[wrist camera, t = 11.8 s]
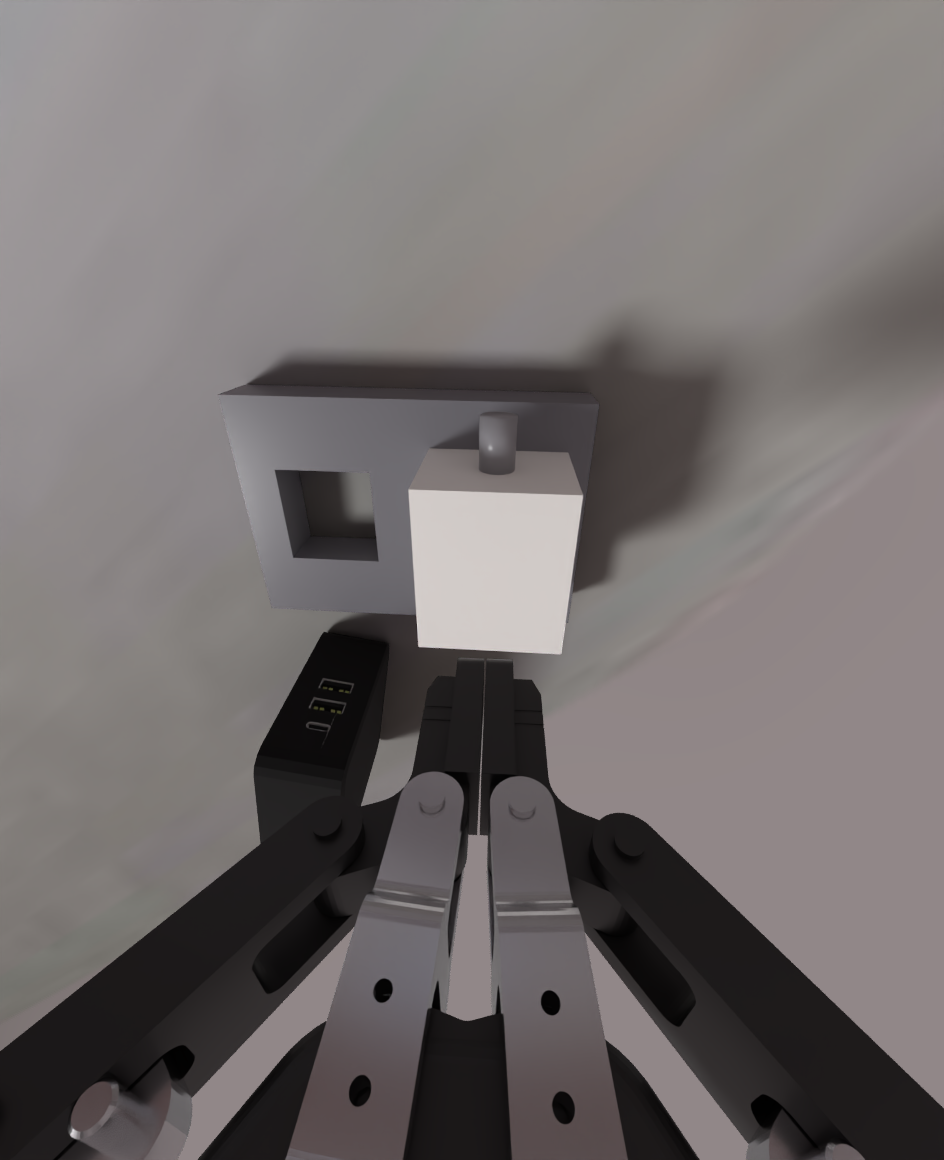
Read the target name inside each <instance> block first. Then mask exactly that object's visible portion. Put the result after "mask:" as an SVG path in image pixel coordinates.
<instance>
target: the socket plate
mask: <svg viewBox="0 0 944 1160" xmlns="http://www.w3.org/2000/svg"><path fill="white" fill-rule="evenodd" d="M218 398H219V402H220V406H221V410H222V414H223V418H224V422H225V426H226V430H227V434H228V437H229V441H230V445H231V449H232V453H233V457H234V461H235V465H236V469H237V473H238V477H239V481H240V485H241V489H242V493H243V497H244V501H245V505H246V508H247V512H248V516H249V520H250V524H251V528H252V532H253V536H254V540H255V544H256V548H257V552H258V556H259V560H260V564H261V568H262V572H263V576H264V579H265V583H266V587H267V591H268V595H269V599H270V603H271V607H272V608H282V609H302V610H322V611H342V612H362V613H382V614H403V615H416V602H415V586H414V570H413V555H412V539H411V523H410V508H409V492H408V489H409V487H410V485H411V483H412V481H413V479H414V477H415V475H416V474H417V472H418V470H419V468H420V466H421V464H422V462H423V460H424V458H425V456H426V454H427V452H428V450H429V448H435V449H469V450H479V422H480V414H482V413H485V412H509V413H514V414H516V415H518V423H517V440H516V451H538V452H568V453H569V456H570V459H571V462H572V465H573V468H574V471H575V473H576V476H577V479H578V482H579V485H580V488H581V491H582V493H583V500H582V508H581V515H580V522H579V529H578V537H577V544H576V551H575V558H574V566H573V573H572V580H571V587H570V594H569V602H568V609H567V616H566V623H568V620H569V613H570V606H571V599H572V592H573V585H574V578H575V571H576V564H577V557H578V550H579V543H580V537H581V530H582V523H583V516H584V509H585V502H586V495H587V488H588V481H589V474H590V467H591V460H592V453H593V446H594V439H595V432H596V425H597V418H598V411H599V403H598V402H597V400H596V399H595V398H594V397H593V395H592V394H591V393H575V392H533V391H492V390H450V389H409V388H367V387H326V386H285V385H243V386H240V387H237V388H235V389H232V390H229V391H226V392H224V393H221V394H218ZM299 470H302V471H332V472H361V473H370V482H371V492H372V501H373V511H374V521H375V530H376V539H370V538H345V537H321V536H311V535H310V529H309V524H308V518H307V513H306V507H305V502H304V497H303V491H302V486H301V480H300V475H299Z"/></svg>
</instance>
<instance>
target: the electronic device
mask: <svg viewBox="0 0 944 1160" xmlns="http://www.w3.org/2000/svg"><path fill="white" fill-rule="evenodd" d="M388 658H389V644H387V643H381V642H376V641H370V640H365V639H359V638H354V637H349V636H343V635H338V634H332V633H327V632H324V633H323V634H322V635H321V637H320V639H319V641H318V642H317V644H316V646H315V648H314V650H313V652H312V653H311V655H310V657H309V659H308V661H307V663H306V664H305V666H304V668H303V670H302V672H301V674H300V675H299V677H298V679H297V681H296V683H295V685H294V686H293V688H292V690H291V692H290V694H289V696H288V697H287V699H286V701H285V703H284V705H283V707H282V708H281V710H280V712H279V714H278V716H277V717H276V719H275V721H274V723H273V725H272V727H271V728H270V730H269V732H268V734H267V736H266V738H265V739H264V741H263V743H262V745H261V747H260V750H259V752H258V754H257V758H256V761H255V765H254V784H255V793H256V803H257V813H258V822H259V832H260V842H261V843H263V842H264V841H265V840H266V839H268V838H269V837H270V836H271V835H273V834H274V833H275V832H276V831H278V830H279V829H280V828H281V827H283V826H284V825H285V824H286V823H288V822H289V821H290V820H291V819H293V818H294V817H295V816H296V815H298V814H299V813H300V812H302V811H303V810H304V809H305V808H307V807H308V806H309V805H311V804H312V803H313V802H315V801H317V800H319V799H322V798H324V797H329V796H343V797H346V798H349V799H351V800H352V801H353V802H355V803H356V804H357V806H358V807H361V803H362V800H363V796H364V793H365V790H366V786H367V783H368V779H369V776H370V772H371V769H372V765H373V762H374V759H375V755H376V752H377V748H378V744H379V738H380V729H381V720H382V711H383V702H384V693H385V684H386V675H387V666H388Z"/></svg>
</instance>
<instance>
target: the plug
mask: <svg viewBox="0 0 944 1160" xmlns="http://www.w3.org/2000/svg"><path fill="white" fill-rule="evenodd" d="M517 423H518V415H516V414H514V413H509V412H485V413H482V414H480V422H479V450H469V449H435V448H429V450H428V452H427V454H426V456H425V458H424V460H423V462H422V464H421V466H420V468H419V470H418V472H417V474H416V475H415V477H414V479H413V481H412V483H411V485H410V487H409V489H408V492H409V508H410V523H411V539H412V555H413V570H414V586H415V602H416V618H417V633H418V647H429V648H449V649H468V650H487V651H506V652H525V653H545V654H561V652H562V645H563V638H564V631H565V623H566V616H567V609H568V602H569V594H570V587H571V580H572V573H573V566H574V558H575V551H576V544H577V537H578V529H579V522H580V515H581V508H582V500H583V493H582V491H581V488H580V485H579V482H578V479H577V476H576V473H575V471H574V468H573V465H572V462H571V459H570V456H569V453H568V452H538V451H516V440H517Z"/></svg>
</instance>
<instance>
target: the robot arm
mask: <svg viewBox="0 0 944 1160" xmlns="http://www.w3.org/2000/svg"><path fill="white" fill-rule="evenodd" d="M483 691H484V659H480V658H458V662H457V670H456V677H451V676H438V677H437V678H436V679H435V681H434V682H433V683H432V685H431V686H430V687H429V689H428V691H427V696H426V702H425V709H424V713H423V718H422V724H421V729H420V734H419V740H418V745H417V751H416V756H415V761H414V767H413V771H412V775H411V777H410V779H409V781H408V783H407V784H406V785H405V787H404V788H403V789H402V790H401V791H399V792H398V793H397V794H395V795H394V796H392V797H390V798H388V799H386V800H383V801H380V802H376V803H373V804H369V805H365V806H361V807H358V806H357V804H356V803H355V802H353V801H352V800H351V799H349V798H346V797H343V796H329V797H324V798H322V799H319V800H317V801H315V802H313V803H312V804H311V805H309V806H308V807H307V808H305V809H304V810H303V811H302V812H300V813H299V814H298V815H296V816H295V817H294V818H293V819H291V820H290V821H289V822H288V823H286V824H285V825H284V826H283V827H281V828H280V829H279V830H278V831H276V832H275V833H274V834H273V835H271V836H270V837H269V838H268V839H266V840H265V841H264V842H263V843H261V844H260V845H259V846H258V847H256V848H255V849H254V850H253V851H251V852H250V853H249V854H247V855H246V856H245V857H244V858H242V859H241V860H240V861H239V862H237V863H236V864H235V865H234V866H232V867H231V868H230V869H229V870H227V871H226V872H225V873H224V874H222V875H221V876H220V877H219V878H217V879H216V880H215V881H214V882H212V883H211V884H210V885H209V886H207V887H206V888H205V889H204V890H202V891H201V892H200V893H199V894H197V895H196V896H195V897H193V898H192V899H191V900H190V901H188V902H187V903H186V904H185V905H183V906H182V907H181V908H180V909H178V910H177V911H176V912H175V913H173V914H172V915H171V916H170V917H168V918H167V919H166V920H165V921H163V922H162V923H161V924H160V925H158V926H157V927H156V928H155V929H153V930H152V931H151V932H150V933H148V934H147V935H146V936H145V937H143V938H142V939H141V940H139V941H138V942H137V943H136V944H134V945H133V946H132V947H131V948H129V949H128V950H127V951H126V952H124V953H123V954H122V955H121V956H119V957H118V958H117V959H116V960H114V961H113V962H112V963H111V964H109V965H108V966H107V967H106V968H104V969H103V970H102V971H101V972H99V973H98V974H97V975H96V976H94V977H93V978H92V979H91V980H89V981H88V982H87V983H85V984H84V985H83V986H82V987H80V988H79V989H78V990H77V991H75V992H74V993H73V994H72V995H71V996H69V997H68V998H67V999H65V1000H64V1001H63V1002H62V1003H60V1004H59V1005H58V1006H57V1007H55V1008H54V1009H53V1010H52V1011H50V1012H49V1013H48V1014H47V1015H45V1016H44V1017H43V1018H42V1019H40V1020H39V1021H38V1022H36V1023H35V1024H34V1025H33V1026H32V1027H30V1028H29V1029H28V1030H27V1031H25V1032H24V1033H23V1034H22V1035H20V1036H19V1037H18V1038H16V1039H15V1040H14V1041H13V1042H12V1043H10V1044H9V1045H8V1046H6V1047H5V1048H4V1049H3V1050H1V1051H0V1160H178V1158H179V1156H180V1154H181V1151H182V1149H183V1147H184V1145H185V1142H186V1139H187V1137H188V1133H189V1129H190V1125H191V1118H192V1099H191V1098H192V1097H193V1096H194V1095H195V1094H196V1093H197V1092H198V1091H199V1090H200V1089H201V1088H202V1086H203V1085H204V1084H205V1083H206V1082H207V1081H208V1080H209V1079H210V1078H211V1077H212V1076H213V1075H214V1074H215V1073H216V1072H217V1071H218V1069H220V1068H221V1067H222V1065H223V1064H224V1063H225V1062H226V1061H227V1060H228V1059H229V1058H230V1057H231V1056H232V1055H233V1054H234V1053H235V1052H236V1051H237V1050H238V1048H239V1047H240V1046H241V1045H242V1044H243V1043H244V1042H245V1041H246V1040H247V1039H248V1038H249V1037H250V1036H251V1035H252V1034H253V1033H254V1032H255V1031H256V1029H257V1028H258V1027H259V1026H260V1025H261V1024H262V1023H263V1022H264V1021H265V1020H266V1019H267V1018H268V1017H269V1016H270V1015H271V1014H272V1013H273V1012H274V1011H275V1010H276V1008H277V1007H278V1006H279V1005H280V1004H281V1003H282V1002H283V1001H284V1000H285V999H286V998H287V997H288V996H289V994H291V993H292V992H293V991H294V989H296V987H297V986H298V985H299V984H300V983H301V982H302V981H303V980H304V979H305V978H306V977H307V976H308V975H309V974H310V973H311V972H312V971H313V969H314V968H315V967H316V966H317V965H318V964H319V963H320V962H321V961H322V960H323V959H324V958H325V957H326V956H327V955H328V954H329V953H330V952H331V950H333V948H334V947H335V946H336V945H337V944H338V943H339V942H340V941H341V940H342V939H343V938H344V937H345V936H346V935H347V934H348V933H349V932H350V931H351V930H352V928H353V927H354V926H355V927H354V931H353V934H352V938H351V941H350V945H349V947H348V951H347V954H346V958H345V961H344V964H343V968H342V971H341V974H340V978H339V981H338V985H337V988H336V992H335V995H334V998H333V1001H332V1005H331V1008H330V1012H329V1015H328V1018H327V1021H325V1022H324V1023H322V1024H320V1025H319V1026H317V1027H316V1028H314V1029H313V1030H312V1031H311V1032H309V1033H308V1034H307V1035H305V1036H304V1037H303V1038H302V1039H301V1040H300V1041H299V1042H298V1043H297V1044H295V1045H294V1046H293V1048H291V1049H290V1051H288V1053H287V1054H286V1055H285V1056H284V1057H283V1058H282V1059H281V1061H280V1062H279V1063H278V1064H277V1065H276V1066H275V1068H274V1069H273V1070H272V1071H271V1073H270V1074H269V1075H268V1076H267V1077H266V1078H265V1080H264V1081H263V1082H262V1083H261V1085H260V1086H259V1087H258V1088H257V1089H256V1090H255V1092H254V1093H253V1094H252V1095H251V1096H250V1098H249V1099H248V1100H247V1101H246V1102H245V1104H244V1105H243V1106H242V1107H241V1109H240V1110H239V1111H238V1112H237V1113H236V1114H235V1116H234V1117H233V1118H232V1119H231V1120H230V1122H229V1123H228V1124H227V1125H226V1126H225V1127H224V1129H223V1130H222V1131H221V1132H220V1134H219V1135H218V1136H217V1137H216V1138H215V1139H214V1141H213V1142H212V1143H211V1144H210V1145H209V1147H208V1148H207V1149H206V1150H205V1152H204V1153H203V1154H202V1155H201V1156H200V1157H199V1159H198V1160H699V1158H698V1157H697V1156H696V1154H695V1152H694V1151H693V1149H692V1148H691V1146H690V1145H689V1143H688V1142H687V1140H686V1139H685V1137H684V1136H683V1134H682V1133H681V1131H680V1130H679V1128H678V1127H677V1125H676V1124H675V1122H674V1121H673V1119H672V1118H671V1116H670V1115H669V1113H668V1112H667V1110H666V1109H665V1107H664V1106H663V1104H662V1103H661V1101H660V1100H659V1098H658V1097H657V1095H656V1094H655V1092H654V1091H653V1089H652V1088H651V1087H650V1085H649V1084H648V1082H647V1081H646V1080H645V1078H644V1077H643V1076H642V1075H641V1073H640V1072H639V1071H638V1070H637V1069H636V1067H635V1066H634V1065H633V1064H632V1063H631V1062H630V1061H629V1060H628V1059H627V1058H626V1057H625V1056H624V1055H623V1054H622V1053H621V1052H620V1051H619V1050H618V1049H617V1048H615V1047H614V1046H613V1045H611V1044H610V1043H609V1042H608V1041H606V1040H605V1036H604V1031H603V1026H602V1021H601V1015H600V1010H599V1005H598V999H597V994H596V989H595V984H594V979H593V973H592V968H591V962H590V957H589V952H588V947H587V941H586V937H585V933H586V934H587V936H588V937H589V938H590V939H591V941H592V942H593V943H594V945H595V946H596V947H597V948H598V950H599V951H600V952H601V954H602V955H603V956H604V958H605V959H606V960H607V961H608V963H609V964H610V965H611V967H612V968H613V969H614V970H615V972H616V973H617V974H618V976H619V977H620V978H621V980H622V981H623V982H624V983H625V985H626V986H627V987H628V989H629V990H630V991H631V992H632V994H633V995H634V996H635V997H636V999H637V1000H638V1002H639V1003H640V1004H641V1005H642V1007H643V1008H644V1009H645V1011H646V1012H647V1013H648V1014H649V1016H650V1017H651V1018H652V1019H653V1021H654V1022H655V1024H656V1025H657V1026H658V1027H659V1029H660V1030H661V1031H662V1033H663V1034H664V1035H665V1036H666V1038H667V1039H668V1040H669V1042H670V1043H671V1044H672V1046H673V1047H674V1048H675V1049H676V1051H677V1052H678V1053H679V1055H680V1056H681V1057H682V1058H683V1060H684V1061H685V1062H686V1064H687V1065H688V1066H689V1067H690V1069H691V1070H692V1071H693V1073H694V1074H695V1075H696V1077H697V1078H698V1079H699V1080H700V1082H701V1083H702V1084H703V1086H704V1087H705V1088H706V1090H707V1091H708V1092H709V1093H710V1095H711V1096H712V1097H713V1098H714V1100H715V1101H716V1102H717V1104H718V1105H719V1106H720V1108H721V1109H722V1110H723V1112H724V1113H725V1114H726V1115H727V1117H728V1118H729V1119H730V1120H731V1122H732V1123H733V1124H734V1126H735V1127H736V1128H737V1130H738V1131H739V1132H740V1133H741V1135H742V1136H743V1137H744V1139H745V1140H746V1141H747V1143H748V1144H749V1145H748V1149H747V1155H746V1160H944V1108H943V1107H942V1106H941V1105H939V1104H938V1103H937V1102H936V1101H935V1100H934V1099H933V1098H932V1097H931V1096H930V1095H929V1094H928V1093H927V1092H926V1091H925V1090H924V1089H923V1088H922V1087H921V1086H920V1085H919V1084H918V1083H917V1082H916V1081H914V1079H912V1078H911V1077H910V1076H909V1075H908V1074H907V1073H906V1072H905V1071H904V1070H903V1069H902V1068H901V1067H900V1066H899V1065H898V1064H897V1063H896V1062H895V1061H894V1060H893V1059H892V1058H890V1056H889V1055H887V1054H886V1053H885V1052H884V1051H883V1050H882V1049H881V1048H880V1047H879V1046H878V1045H877V1044H876V1043H875V1042H874V1041H873V1040H872V1039H871V1038H870V1037H869V1036H868V1035H867V1034H866V1033H865V1032H863V1030H862V1029H860V1028H859V1027H858V1026H857V1025H856V1024H855V1023H854V1022H853V1021H852V1020H851V1019H850V1018H849V1017H848V1016H847V1015H846V1014H845V1013H844V1012H843V1011H842V1010H841V1009H840V1008H839V1007H838V1006H836V1005H835V1004H834V1003H833V1002H832V1001H831V1000H830V999H829V998H828V997H827V996H826V995H825V994H824V993H823V992H822V991H821V990H820V989H819V988H818V987H817V986H816V985H815V984H813V983H812V981H811V980H810V979H808V978H807V977H806V976H805V975H804V974H803V973H802V972H801V971H800V970H799V969H798V968H797V967H796V966H795V965H794V964H793V963H791V961H790V960H789V959H788V958H786V957H785V956H784V955H783V954H782V953H781V952H780V951H779V950H778V949H777V948H776V947H775V946H774V945H773V944H772V943H771V942H770V941H769V940H768V939H767V938H766V937H765V936H764V935H763V934H761V932H759V930H757V929H756V928H755V927H754V926H753V925H752V924H751V923H750V922H749V921H748V920H747V919H746V918H745V917H744V916H743V915H742V914H741V913H740V912H739V911H738V910H737V909H736V908H735V907H733V905H731V904H730V903H729V902H728V901H727V900H726V899H725V898H724V897H723V896H722V895H721V894H720V893H719V892H718V891H717V890H716V889H715V888H714V887H713V886H712V885H711V884H710V883H709V882H708V881H707V880H705V879H704V878H703V877H702V876H701V875H700V874H699V873H698V872H697V871H696V870H695V869H694V868H693V867H692V866H691V865H690V864H689V863H688V862H687V861H686V860H685V859H684V858H683V857H682V856H680V855H679V854H678V853H677V852H676V851H675V850H674V849H673V848H672V847H671V846H670V845H669V844H668V843H667V842H666V841H665V840H664V839H663V838H662V837H661V836H660V835H658V833H657V832H656V831H655V830H653V829H652V828H651V827H650V826H649V825H648V824H647V823H646V822H644V821H643V820H641V819H639V818H637V817H635V816H633V815H630V814H625V813H613V814H609V815H606V816H605V817H603V818H602V819H601V820H597V819H595V818H592V817H589V816H586V815H584V814H582V813H579V812H576V811H574V810H572V809H571V808H569V807H567V806H566V805H565V804H564V803H562V802H561V801H560V800H559V799H558V798H557V796H556V795H555V793H554V792H553V790H552V788H551V786H550V783H549V778H548V768H547V758H546V746H545V735H544V728H543V725H544V724H543V714H542V702H541V694H540V692H539V691H538V689H537V688H536V686H535V684H534V683H533V681H532V680H521V679H513V660H506V659H487V661H486V684H485V706H484V729H483V751H482V774H481V810H480V813H481V814H480V835H488V857H487V887H488V910H489V933H490V957H491V1004H492V1005H491V1007H492V1015H491V1016H487V1017H483V1018H480V1019H476V1020H472V1021H463V1020H460V1019H457V1018H455V1017H453V1016H451V1015H448V1014H446V1010H447V1003H448V994H449V982H450V970H451V960H452V953H453V946H454V939H455V932H456V924H457V917H458V909H459V902H460V896H461V889H462V881H463V874H464V867H465V864H466V860H467V848H468V834H469V835H477V824H478V803H479V781H480V761H481V740H482V719H483Z"/></svg>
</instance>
